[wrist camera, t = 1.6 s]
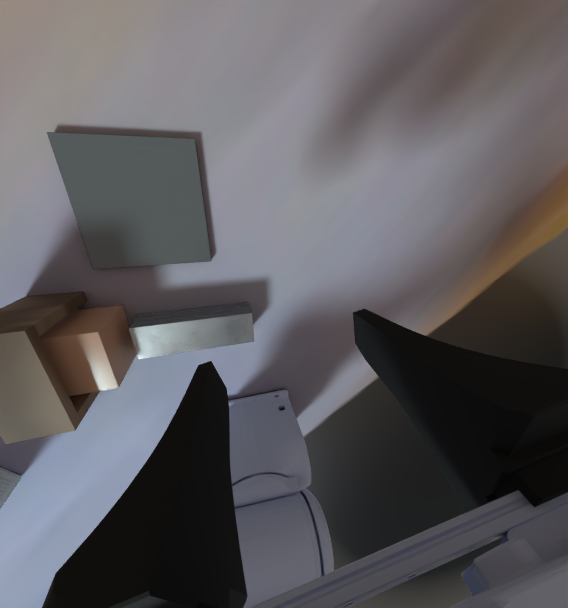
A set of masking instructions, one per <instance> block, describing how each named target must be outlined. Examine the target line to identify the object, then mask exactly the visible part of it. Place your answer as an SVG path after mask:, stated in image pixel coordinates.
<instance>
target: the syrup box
mask: <svg viewBox="0 0 568 608" xmlns="http://www.w3.org/2000/svg"><path fill="white" fill-rule="evenodd" d="M20 479H21V476H20V475H18V474H15V473H13V472H11V471H8V470H6V469H3V468H1V467H0V508H1V507H2V505H3V504H4V502H5V501H6V500H7V498H8V497H9V495H10V494H11V492H12V491H13V489H14V488H15V487H16V485H17V484H18V482H19V481H20Z"/></svg>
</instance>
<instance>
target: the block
mask: <svg viewBox="0 0 568 608" xmlns="http://www.w3.org/2000/svg"><path fill="white" fill-rule="evenodd" d="M40 338H41V340H42V342H43V344H44V346H45V348H46V350H47V352H48V354H49V356H50V358H51V360H52V362H53V364H54V366H55V369H56V371H57V373H58V375H59V377H60V379H61V381H62V383H63V385H64V387H65V389H66V391H67V393H68V395H69V396H73V395H79V394H85V393H91V392H97V391H103V390H109V389H115V388H119V386H120V384H121V382H122V381H123V379H124V377H125V375H126V373H127V371H128V369H129V367H130V365H131V364H132V362H133V360H134V358H135V356H136V354H137V353H136V350H135V347H134V344H133V341H132V338H131V335H130V331H129V324H128V320H127V317H126V314H125V311H124V307H123V305H119V306H109V307H99V308H89V309H79V310H74V311H72V312H71V313H70V314H68V315H67V316H66V317H64V318H63V319H62V320H60V321H59V322H58V323H56V324H55V325H54V326H52V327H51V328H50V329H49V330H47V331H46V332H45V333H43V334H42V335H41V336H40Z"/></svg>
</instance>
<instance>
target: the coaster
mask: <svg viewBox="0 0 568 608" xmlns="http://www.w3.org/2000/svg"><path fill="white" fill-rule="evenodd" d="M47 134H48V137H49V140H50V143H51V146H52V149H53V152H54V155H55V158H56V161H57V164H58V167H59V170H60V173H61V175H62V178H63V181H64V184H65V187H66V190H67V193H68V196H69V199H70V202H71V205H72V208H73V211H74V214H75V217H76V220H77V223H78V226H79V229H80V231H81V234H82V237H83V240H84V243H85V246H86V249H87V252H88V255H89V258H90V261H91V264H92V267H93V269H104V268H119V267H134V266H149V265H164V264H179V263H193V262H208V261H211V253H210V246H209V238H208V231H207V224H206V216H205V209H204V201H203V194H202V186H201V179H200V172H199V164H198V157H197V149H196V142H195V139H185V138H163V137H142V136H120V135H98V134H77V133H55V132H47Z"/></svg>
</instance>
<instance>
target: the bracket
mask: <svg viewBox="0 0 568 608" xmlns="http://www.w3.org/2000/svg"><path fill="white" fill-rule="evenodd" d="M86 301H87V299H86V297H85V294H84V292H74V293H63V294H51V295H39V296H27V297H24V298H21V299H19V300H17V301H15V302H13V303H11V304H9V305H7V306H5V307H3V308H1V309H0V436H1V438H2V439H3V441H4V442H5V443H6V444H9V443H14V442H19V441H24V440H30V439H35V438H40V437H45V436H50V435H55V434H60V433H65V432H70V431H75V430H76V429H77V427H78V425H79V424H80V422H81V421H82V419H83V417H84V416H85V414H86V412H87V411H88V409H89V408H90V406H91V404H92V403H93V401H94V400H95V398H96V396H97V395H98V393H99V392H100V391H97V392H91V393H85V394H79V395H73V396H69V395H68V393H67V391H66V389H65V387H64V385H63V383H62V381H61V379H60V377H59V375H58V373H57V371H56V369H55V366H54V364H53V362H52V360H51V358H50V356H49V354H48V352H47V350H46V348H45V346H44V344H43V342H42V340H41V338H40V336H41V335H42V334H43V333H45V332H46V331H47V330H49V329H50V328H51V327H52V326H54V325H55V324H56V323H58V322H59V321H60V320H62V319H63V318H64V317H66V316H67V315H68V314H70V313H71V312H72V311H74V310H75V309H76V308H78V307H79V306H80V305H82V304H83V303H84V302H86Z"/></svg>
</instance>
